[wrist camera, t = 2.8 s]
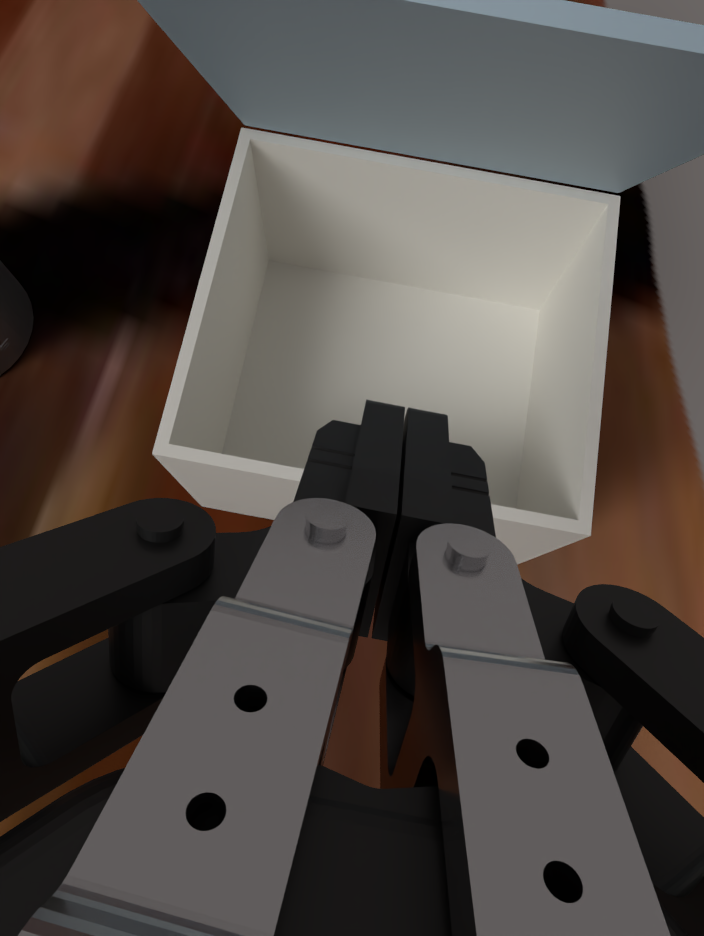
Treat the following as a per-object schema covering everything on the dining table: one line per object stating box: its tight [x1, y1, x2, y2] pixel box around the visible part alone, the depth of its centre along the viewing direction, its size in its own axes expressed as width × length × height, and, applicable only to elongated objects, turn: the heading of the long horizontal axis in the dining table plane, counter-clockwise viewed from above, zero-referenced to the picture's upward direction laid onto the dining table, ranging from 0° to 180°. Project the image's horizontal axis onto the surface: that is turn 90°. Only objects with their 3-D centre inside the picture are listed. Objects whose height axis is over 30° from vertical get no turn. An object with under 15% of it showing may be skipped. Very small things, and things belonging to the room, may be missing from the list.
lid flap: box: [138, 0, 704, 193], centre depth 25 cm, size 18×20×1 cm
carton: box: [152, 128, 621, 564], centre depth 37 cm, size 18×20×12 cm
